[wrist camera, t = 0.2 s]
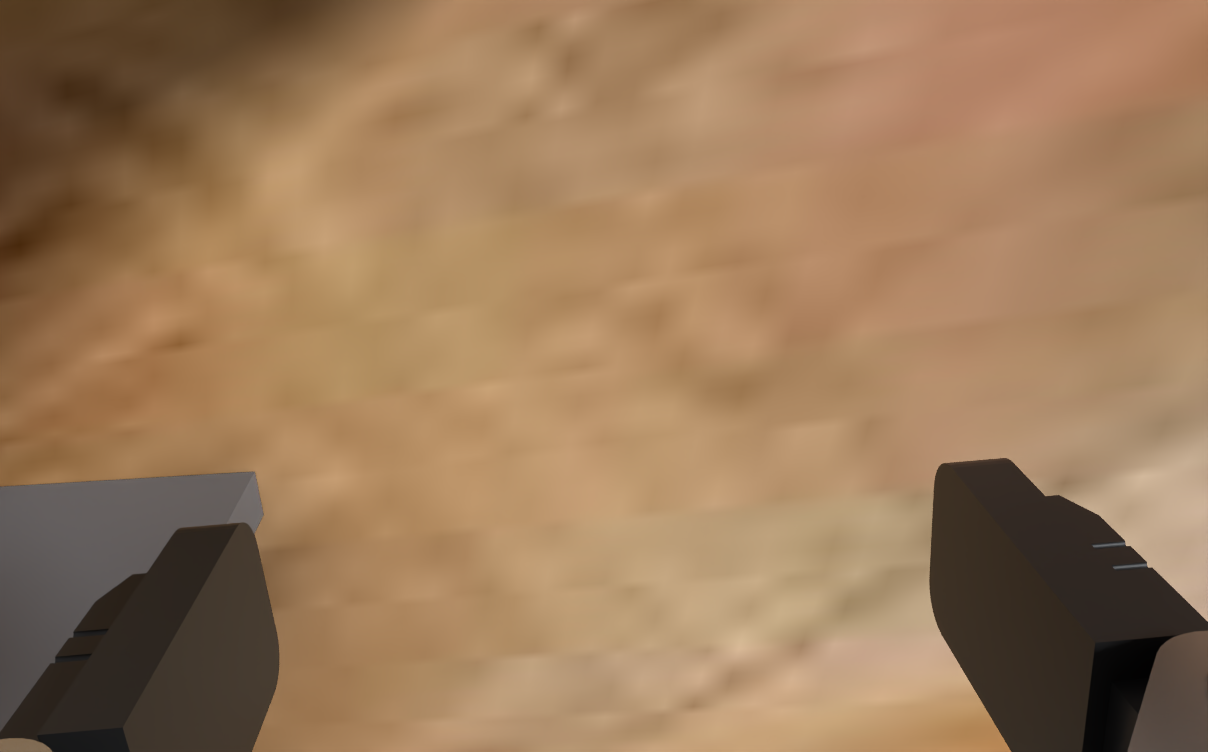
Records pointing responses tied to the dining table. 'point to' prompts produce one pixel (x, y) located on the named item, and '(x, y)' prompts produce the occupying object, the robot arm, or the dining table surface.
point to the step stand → (91, 554)
